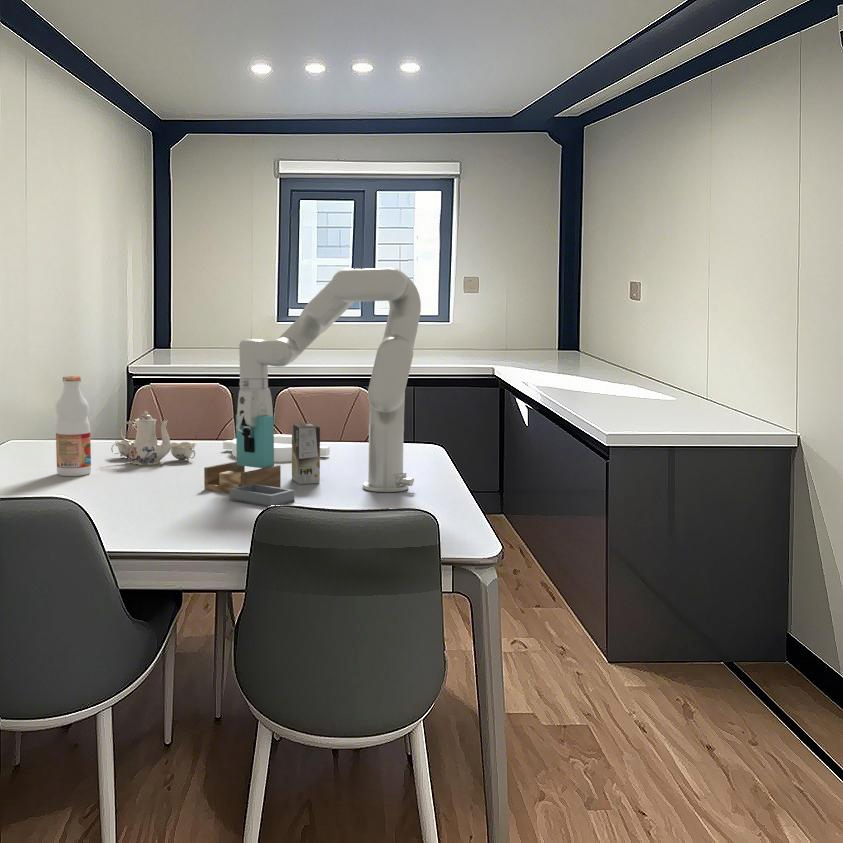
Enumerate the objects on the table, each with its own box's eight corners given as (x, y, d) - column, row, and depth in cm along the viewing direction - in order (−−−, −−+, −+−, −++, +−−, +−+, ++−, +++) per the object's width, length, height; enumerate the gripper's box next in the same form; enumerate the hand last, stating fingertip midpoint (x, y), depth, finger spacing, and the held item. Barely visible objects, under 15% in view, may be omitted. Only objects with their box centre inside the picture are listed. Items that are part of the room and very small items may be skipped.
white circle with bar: (333, 459, 340) (333, 444, 339) (250, 465, 326) (250, 450, 325) (298, 446, 364) (298, 432, 363) (220, 451, 350) (220, 437, 349)
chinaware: (202, 463, 334) (203, 411, 334) (186, 467, 318) (187, 412, 317) (116, 460, 337) (117, 408, 336) (95, 464, 320) (96, 409, 320)
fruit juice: (53, 472, 306) (50, 375, 302) (85, 469, 311) (83, 374, 308) (61, 478, 298) (59, 378, 295) (95, 475, 304) (93, 377, 300)
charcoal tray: (294, 501, 273) (294, 490, 273) (271, 507, 266) (271, 495, 265) (253, 494, 280) (253, 483, 280) (229, 500, 273) (229, 489, 272)
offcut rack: (280, 486, 291) (280, 465, 291) (243, 495, 279) (243, 473, 278) (241, 481, 299) (241, 460, 298) (204, 489, 286) (204, 467, 285)
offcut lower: (249, 492, 286) (249, 482, 286) (238, 494, 282) (238, 485, 282) (229, 488, 290) (229, 479, 289) (219, 491, 286) (219, 481, 286)
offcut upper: (249, 482, 286) (249, 473, 286) (240, 484, 282) (240, 475, 282) (228, 479, 289) (228, 470, 289) (219, 482, 286) (219, 473, 285)
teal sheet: (274, 466, 291) (273, 415, 289) (264, 468, 288) (263, 417, 286) (246, 462, 296) (245, 413, 294) (236, 465, 293) (235, 414, 291)
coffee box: (320, 483, 298) (321, 426, 295) (298, 484, 295) (298, 427, 293) (312, 477, 306) (312, 422, 304) (290, 478, 304) (290, 423, 302)
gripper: (243, 387, 280) (245, 456, 282) (284, 382, 294) (285, 448, 296) (222, 386, 284) (223, 453, 286) (263, 381, 298) (264, 445, 300)
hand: (255, 450), depth 291 cm, fingers closed on teal sheet, 4 cm apart
